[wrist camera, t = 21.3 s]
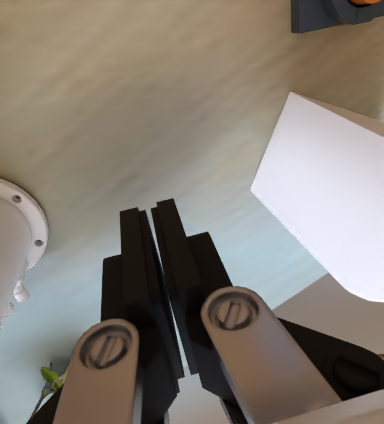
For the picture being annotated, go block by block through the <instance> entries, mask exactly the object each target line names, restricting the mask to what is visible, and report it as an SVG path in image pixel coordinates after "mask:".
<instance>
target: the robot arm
mask: <svg viewBox="0 0 384 424" xmlns="http://www.w3.org/2000/svg"><path fill="white" fill-rule="evenodd" d="M16 195H17V196H20V197H17V196H16ZM156 203H157V207H155V208H151V213H152V218H153V223H154V228H155V233H156V237H157V242H158V247H159V252H160V257H161V262H162V267H163V270H162V267H161V263H160V260H159V256H158V252H157V249H156V245H155V242H154V238H153V235H152V231H151V228H150V224H149V221H148V217H147V214H146V210H143V211H139V210H138V207H136V208H132V209H128V210H124V211H120V231H121V254H120V255H116V256H112V257H108V258H104V260H103V275H102V300H101V322H100V323H98V324H96V325H94V326H92V327H91V328H90V329H88V330H87V331H86V332H85V333H84V334H83V335H82V336H81V338H80V339H79V340H78V341H77V343H76V346H75V348H74V350H73V353H72V357H71V360H70V364H69V367H68V371H67V374H66V378H65V381H64V383H63V385H62V386H61V387H60V388H59V389H58V390H57V391H56V392H55V393H54V394H53V395H52V396H51V397H50V399H49V400H48V401H47V402H46V403H45V404H44V405H43V406H42V407H41V408H40V409H39V410H38V411H37V412H36V414H35V415H34V416H33V417H32V418H31V419H30V420H29V421H28V422H27V423H26V424H169V414H168V408H169V407H170V406H171V404H172V402H173V401H174V399H175V398H176V396H177V393H179V392H180V391H179V385H178V380H177V379H180V378H183V377H185V376H184V370H183V365H182V360H181V355H180V350H179V345H178V340H177V335H176V330H175V326H174V321H173V316H172V311H171V307H172V310H173V314H174V317H175V321H176V324H177V328H178V331H179V335H180V338H181V342H182V345H183V349H184V352H185V356H186V359H187V363H188V366H189V370H190V373H191V375H193V374H197V373H199V376H200V380H201V384H202V387H203V388H204V389H206V390H208V391H210V392H211V393H213V394H215V395H217V396H219V398H220V402H221V405H222V407H223V409H224V411H225V414H226V416H227V418H228V420H229V423H230V424H384V354H375V353H373V352H371V351H369V350H367V349H365V348H363V347H360V346H357V345H354V344H352V343H349V342H345V341H343V340H340V339H337V338H334V337H332V336H328V335H326V334H323V333H320V332H317V331H315V330H312V329H309V328H306V327H303V326H300V325H298V324H295V323H292V322H289V321H286V320H283V319H280V318H278V317H276V316H275V315H274V313H273V312H272V311H271V309H270V308H269V307H268V306H267V304H266V303H265V302H264V300H263V299H262V298H261V297H260V296H259V295H258V294H257V293H256V292H254V291H252V290H250V289H248V288H244V287H239V286H233V285H232V283H231V281H230V279H229V276H228V274H227V272H226V270H225V268H224V265H223V263H222V261H221V259H220V256H219V254H218V252H217V250H216V248H215V245H214V243H213V241H212V239H211V236H210V234H209V233H208V232H204V233H200V234H196V235H193V236H189V237H186V234H185V231H184V228H183V225H182V222H181V219H180V216H179V213H178V211H177V208H176V205H175V202H174V199H173V198H172V199H168V200H164V201H160V202H156ZM48 233H49V228H48V224H47V219H46V217H45V215H44V213H43V211H42V209H41V207H40V206H39V205H38V203H37V202H36V201H35V200H34V199H33V198H32V197H31V196H30V195H29V194H28V193H27V192H26V191H24V190H23V189H21V188H20V187H18V186H17V185H15V184H13V183H10V182H8V181H6V180H4V179H1V178H0V328H1V325H2V323H3V320H4V317H6V316H8V315H9V314H10V313H11V312H12V311H13V310H14V306H13V304H12V303H11V298H12V295H13V296H14V297H15V299H16V300H17V302H23V301H25V300H27V299H28V298H29V293H28V291H27V289H26V288H25V286H23V284H22V281H23V278H24V275H25V272H26V271H27V270H29V269H30V268H32V267H33V266H34V265H35V264H36V263H37V262H38V261H39V259H40V258H41V257H42V255H43V253H44V251H45V248H46V245H47V241H48ZM163 272H164V274H163ZM168 295H169V296H168ZM169 299H170V301H169ZM170 303H171V306H170Z"/></svg>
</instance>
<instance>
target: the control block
mask: <svg viewBox="0 0 384 424" xmlns="http://www.w3.org/2000/svg"><path fill="white" fill-rule="evenodd" d="M379 16H384V0H380V1H379V2H376V3H371V4H355V3H353V2H351V1H350V0H291V25H292V33H304V32H308V31H313V30H318V29H322V28H327V27H332V26H336V25H341V24H352V25H354V24H359V23H364V22H369V21H371V20H372V19H373V18H375V17H379Z"/></svg>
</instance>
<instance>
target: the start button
mask: <svg viewBox="0 0 384 424" xmlns="http://www.w3.org/2000/svg"><path fill="white" fill-rule="evenodd" d="M350 1H351V2H353V3H355V4H371V3H376V2H379V1H380V0H350Z"/></svg>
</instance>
